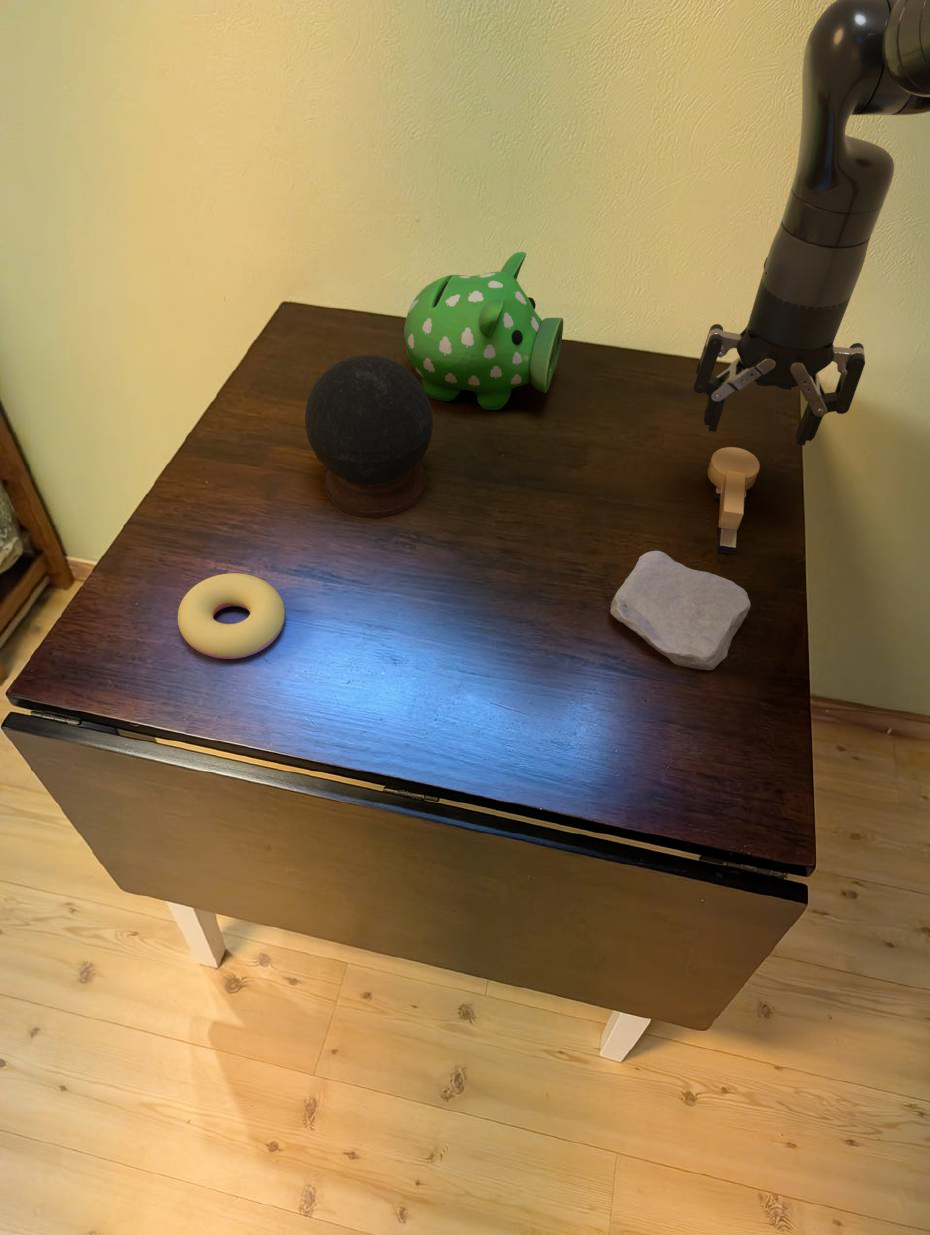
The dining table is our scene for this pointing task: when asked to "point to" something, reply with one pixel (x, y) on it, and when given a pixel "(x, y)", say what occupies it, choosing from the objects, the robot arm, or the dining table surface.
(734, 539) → the fork
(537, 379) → the piggy bank
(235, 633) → the donut
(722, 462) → the wooden round paddle
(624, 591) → the stone block
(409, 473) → the black ball on stand
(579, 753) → the dining table surface
